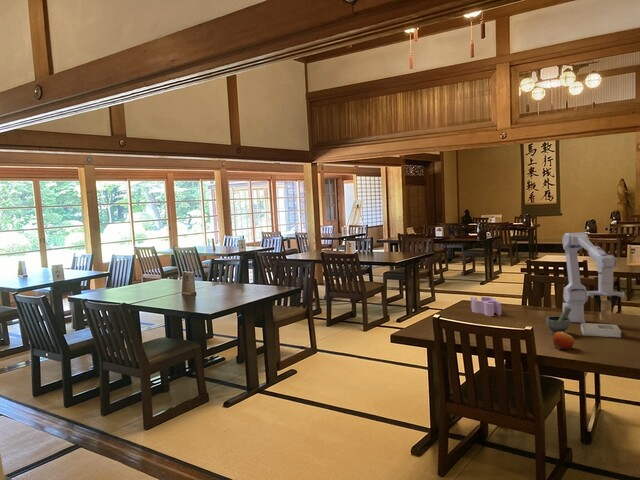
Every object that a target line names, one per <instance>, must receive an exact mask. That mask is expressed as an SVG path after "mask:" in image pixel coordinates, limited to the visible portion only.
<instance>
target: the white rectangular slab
mask: <svg viewBox="0 0 640 480" xmlns="http://www.w3.org/2000/svg"><path fill="white" fill-rule="evenodd" d="M580 331H581V332H582V335H583V336H587V337H588V336H589V337H606V338H618V339H619V338H621V337H622V331H621V329H620V327H619V326H618V325H617V324H609V323H607V324H606V323H589V322H585V323H580Z"/></svg>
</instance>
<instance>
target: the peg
mask: <svg viewBox="0 0 640 480" xmlns="http://www.w3.org/2000/svg"><path fill="white" fill-rule="evenodd" d="M599 319H600V320H601V321H602V320H604V321H612V313H611V302H610V300H605V299H604V300H602V299H601V312H599Z"/></svg>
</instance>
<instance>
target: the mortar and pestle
mask: <svg viewBox="0 0 640 480" xmlns="http://www.w3.org/2000/svg"><path fill="white" fill-rule="evenodd" d="M570 311H571V309H570V308H568V307H565V310H564V311H563V310H562V313H561V314H560V315H559V316H557V315H553V316H552V315H550V316H547V317H546V318H545V323H546V326H547V327H548V328H549V329H550V334H551V335H554V334H555V333H556V332H564V333H566V331H567V330H568V329H569V327H570V324H571V322H570V319H569V318H567V317H568V315H569V313H570Z"/></svg>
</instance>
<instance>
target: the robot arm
mask: <svg viewBox="0 0 640 480" xmlns="http://www.w3.org/2000/svg"><path fill="white" fill-rule="evenodd" d="M561 240H562V247H563V250H564V251H565V252H564V253H565V260H566V270H567V278H568V279H567V280H568V284H567V285H566V286H565V287H564V288H563V295H562V297H563V300H564V302H562V312H563V311H564V310H565V307H568V308H570V309H571V311H570V313H569V315H568V317H567V318H569V319H570V323H578V324H579V323H580V324H581V323H586V319H585V315H584V314H585V313H584V312H585V311H584V310H585V309H584V308H585V304H586V302H588V300H589V297H593V298H594V301H595V303H596V305H597V309H598V310H597V312H598V313H600V312H601V300H602V297H609V301H610V302H611V314H613V313H614V308H615V306H616V304H617V302H618V300H619V298H620V297H622V298H625V296H626V295H625V294H626V293H625V292H624V291H614V268H616V266H617V258H616V257H615V255H613V254H608V253H606V251H604V249H602V247H601V246H596V245H594V244H593V242H591V241H590V239H589V235H588V234H587V233H586V232H583V231H582V232H566V233H564V234H563V236H562V239H561ZM582 249H584V250H586V251H587V253H588V256H589V257H590V258H591V259H592V260H593V261H594V262H595V265H596V270H597V273H598V275H597V276H598V277H597V278H598V283H597V284H598V288H597V289H598V290H587V288H586V286H585V285H583V284H582V282H581V276H580V275H581V274H580V268H579V267H580V266H579V258H578V251H579V250H582Z"/></svg>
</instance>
